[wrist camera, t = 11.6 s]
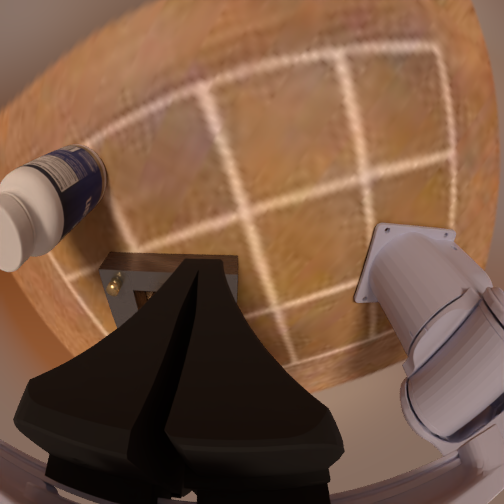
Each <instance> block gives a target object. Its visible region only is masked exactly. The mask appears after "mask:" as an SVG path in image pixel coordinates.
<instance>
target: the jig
mask: <svg viewBox="0 0 504 504" xmlns="http://www.w3.org/2000/svg"><path fill="white" fill-rule="evenodd" d="M185 258H187V259H221V260H222V261H223V262H224V272H225V276H226V279H227V282H228V285H229V288H230V290H231V292H232V295H233V297H234V299H235V301H236V303H237V283H238V256H233V255H194V254H156V253H121V252H110V253H109V254H108V256H107V257H106V259H105V260H104V262H103V263H102V265H101V266H100V268H99V273H100V277H101V280H102V283H103V287H104V290H105V293H106V297H107V300H108V303H109V306H110V309H111V312H112V315H113V318H114V320H115V323H116V326H117V328H119V327H120V326H121V325H122V324H123V323H125V322H126V321H127V320H128V319H129V318H130V317H132V316H133V315H134V314H135V313H136V312H137V311H138V310H139V309H140V308H141V307H142V306H143V305H144V304H145V303H146V302H147V296H146V292H145V291H155V292H157V290H158V289H159V288H160V287H161V286H162V285H163V284H164V283H165V281H166V280H167V279H168V278H169V277H170V276H171V274H172V273H173V272H174V271H175V270H176V268H177V267H178V266H179V265H180V264H181V262H182V261H183V260H184V259H185Z"/></svg>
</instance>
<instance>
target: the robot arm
mask: <svg viewBox="0 0 504 504" xmlns="http://www.w3.org/2000/svg"><path fill="white" fill-rule="evenodd" d="M386 228H388V229H387V231H385V229H386ZM445 233H446V234H445ZM455 236H456V232H455V231H454V230H452V229H443V228H433V227H424V226H413V225H402V224H391V223H379V224H377V226H376V227H375V231H374V234H373V238H372V242H371V245H370V249H369V252H368V256H367V259H366V262H365V266H364V269H363V272H362V275H361V278H360V281H359V284H358V287H357V290H356V293H355V296H354V299H355V301H356V302H357V303H367V302H379V303H380V305H381V307H382V309H383V311H384V312H385V314H386V316H387V318H388V320H389V321H390V323H391V325H392V327H393V329H394V331H395V333H396V334H397V336H398V338H399V340H400V342H401V344H402V346H403V348H404V350H405V352H406V354H407V356H408V358H407V360H406V361H405V362H404V363H403V365H402V366H403V368H404V370H405V373H406V375H407V377H406V378H405V379H404V381H403V382H402V384H401V388H400V401H401V407H402V412H403V414H404V416H405V419H406V421H407V423H408V424H409V426H410V427H411V428H412V430H413V431H414V432H415V433H416V434H418V435H419V436H420V437H422V438H424V439H426V440H427V441H429V442H430V443H431V444H433V445H434V446H435V447H436V448H437V449H438V450H439V451H440V452H441V454H442V455H443V457H441V458H439V459H437V460H435V461H432V462H430V463H428V464H426V465H424V466H421V467H419V468H416V469H414V470H411V471H409V472H406V473H404V474H401V475H398V476H396V477H393V478H390V479H387V480H384V481H381V482H378V483H374V484H371V485H367V486H364V487H360V488H357V489H353V490H349V491H344V492H340V493H335V494H331V495H329V490H328V484H327V483H328V482H330V475H329V469H328V468H329V467H330V466H331V465H333V464H334V463H335V462H336V461H337V460H338V459H339V458H340V457H341V456H342V454H343V453H344V447H343V440H342V437H341V434H340V432H339V429H338V427H337V425H336V422H335V420H334V418H333V416H332V414H331V412H330V410H329V408H327V407H326V406H325V405H324V404H322V403H321V402H320V401H319V400H317V399H316V398H315V397H313V396H312V395H311V394H310V393H309V392H308V391H306V390H305V389H304V388H303V387H302V386H301V385H300V384H299V383H298V382H297V381H295V380H294V379H293V378H292V377H291V376H290V375H289V374H288V373H287V372H286V371H285V370H284V369H283V367H282V366H281V365H280V364H279V363H278V362H277V361H276V360H275V359H274V357H273V356H272V355H271V354H270V353H269V352H268V351H267V349H266V348H265V347H264V346H263V344H262V343H261V342H260V340H259V339H258V338H257V336H256V335H255V333H254V332H253V331H252V329H251V328H250V326H249V324H248V323H247V321H246V320H245V318H244V316H243V314H242V313H241V311H240V309H239V307H238V305H237V303H236V301H235V299H234V297H233V295H232V292H231V290H230V288H229V285H228V282H227V279H226V276H225V272H224V262H223V261H222V260H221V259H187V258H185V259H184V260H183V261H182V262H181V264H180V265H179V266H178V267H177V268H176V270H175V271H174V272H173V273H172V274H171V276H170V277H169V278H168V279H167V280H166V281H165V283H164V284H163V285H162V286H161V287H160V288H159V289H158V290H157V292H156V293H155V294H154V295H153V296H152V297H151V298H150V299H149V300H148V301H147V302H146V303H145V304H144V305H143V306H142V307H141V308H140V309H139V310H138V311H137V312H136V313H135V314H134V315H133V316H132V317H130V318H129V319H128V320H127V321H126V322H125V323H123V324H122V325H121V326H120V327H119V328H117V329H116V330H115V331H113V332H112V333H111V334H109V335H108V336H106V337H105V338H104V339H102V340H101V341H99V342H98V343H97V344H95V345H94V346H92V347H91V348H89V349H88V350H86V351H85V352H83V353H81V354H80V355H78V356H76V357H75V358H73V359H71V360H70V361H68V362H66V363H64V364H62V365H60V366H58V367H56V368H54V369H52V370H50V371H48V372H46V373H43V374H41V375H39V376H37V377H35V378H32V379H30V380H29V382H28V384H27V386H26V389H25V391H24V393H23V396H22V398H21V401H20V403H19V406H18V408H17V411H16V413H15V416H14V419H13V420H14V424H15V426H16V427H17V428H18V430H19V431H20V432H22V433H23V434H24V435H25V436H26V437H28V438H29V439H30V440H31V441H33V442H34V443H35V444H37V445H38V446H39V447H41V448H42V449H44V450H45V451H46V452H48V453H49V458H48V463H47V464H46V463H44V462H42V461H40V460H38V459H36V458H34V457H32V456H30V455H28V454H26V453H24V452H22V451H20V450H18V449H16V448H15V447H13V446H11V445H9V444H8V443H6V442H4V441H2V440H1V439H0V504H79V503H77V502H74V501H72V500H69V499H67V498H64V497H62V496H60V495H59V494H58V491H57V489H56V488H55V487H57V488H59V489H62V490H64V491H66V492H69V493H71V494H74V495H76V496H79V497H82V498H84V499H87V500H90V501H93V502H96V503H99V504H488V503H489V502H490V501H491V500H492V499H493V498H494V497H496V496H497V495H498V494H499V493H500V492H501V491H502V490H503V489H504V291H503V290H502V289H500V288H499V287H493V285H492V282H491V280H490V278H489V276H488V275H487V274H486V273H485V271H484V270H483V269H482V268H481V267H480V266H479V265H478V264H477V263H476V262H475V261H474V260H473V259H472V258H471V257H469V256H468V255H467V254H466V253H465V252H464V251H463V250H462V249H461V248H460V247H459V246H458V245H457V244H456V243H455V242H454V239H455ZM364 297H365V298H364ZM54 486H55V487H54ZM191 491H193V492H194V493H195V494H196V495H197V502H188V501H179V500H172V499H171V497H175V498H181V497H182V496H183V497H184V496H185V495H187V494H188V493H190V492H191Z"/></svg>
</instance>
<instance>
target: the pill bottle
mask: <svg viewBox="0 0 504 504" xmlns="http://www.w3.org/2000/svg"><path fill="white" fill-rule="evenodd" d="M105 188H106V171H105V167H104V165H103V162H102V160H101V159H100V157H99V156H98V155H97V154H96V153H95V152H94V151H93V150H92V149H90V148H89V147H87V146H84V145H80V144H73V145H69V146H65V147H63V148H60V149H58V150H55V151H53V152H51V153H48V154H46V155H44V156H41V157H39V158H37V159H35V160H33V161H31V162H29V163H26V164H25V165H23V166H20V167H18V168H17V169H15V170H13V171H12V172H10V173H9V174H8V175H7V176H6V177H5V178H4V179H3V180H2V182H1V184H0V269H1V270H3V271H6V272H13V271H16V270H17V269H18V268H20V266H21V265H22V264H23V263H24V262H25V261H26V260H27V259H28V258H29V257H30V256H41V255H44V254H46V253H48V252H49V251H51V250H52V249H53V248H54V247H55V246H56V245H57V244H58V243H59V242H60V241H61V240H62V239H63V238H64V237H65V236H66V235H67V234H68V233H69V232H70V231H71V230H72V229H73V228H74V227H75V226H76V225H77V224H78V223H79V222H80V221H81V220H82V219H83V218H84V217H85V216H86V215H87V214H88V213H89V212H90V211H91V210H92V209H93V208H94V207H95V206H96V205H97V204H98V203H99V202H100V200H101V199H102V197H103V195H104V192H105Z"/></svg>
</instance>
